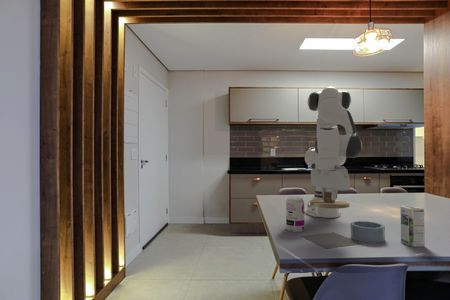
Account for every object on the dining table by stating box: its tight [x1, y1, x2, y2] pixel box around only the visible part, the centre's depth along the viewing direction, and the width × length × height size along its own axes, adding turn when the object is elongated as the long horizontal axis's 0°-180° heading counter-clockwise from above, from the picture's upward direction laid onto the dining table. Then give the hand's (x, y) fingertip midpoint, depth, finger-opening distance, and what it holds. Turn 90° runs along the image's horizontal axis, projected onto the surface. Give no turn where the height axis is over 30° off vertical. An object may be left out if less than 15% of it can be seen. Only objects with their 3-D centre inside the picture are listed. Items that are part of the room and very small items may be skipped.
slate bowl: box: [350, 220, 386, 244], centre depth 113 cm, size 12×12×6 cm
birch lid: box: [309, 192, 350, 209], centre depth 111 cm, size 15×15×5 cm
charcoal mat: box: [300, 231, 363, 250], centre depth 111 cm, size 17×17×1 cm
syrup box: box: [399, 205, 426, 248], centre depth 105 cm, size 6×6×14 cm
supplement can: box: [285, 196, 306, 233], centre depth 127 cm, size 8×8×15 cm
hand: (329, 199), depth 111 cm, fingers closed on birch lid, 3 cm apart
